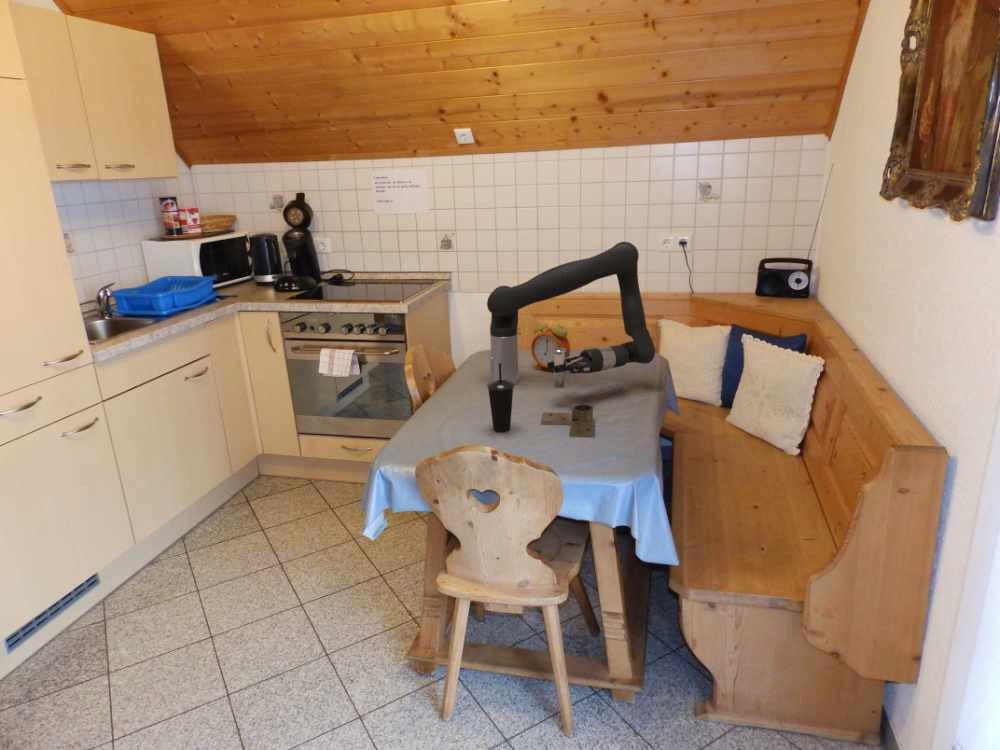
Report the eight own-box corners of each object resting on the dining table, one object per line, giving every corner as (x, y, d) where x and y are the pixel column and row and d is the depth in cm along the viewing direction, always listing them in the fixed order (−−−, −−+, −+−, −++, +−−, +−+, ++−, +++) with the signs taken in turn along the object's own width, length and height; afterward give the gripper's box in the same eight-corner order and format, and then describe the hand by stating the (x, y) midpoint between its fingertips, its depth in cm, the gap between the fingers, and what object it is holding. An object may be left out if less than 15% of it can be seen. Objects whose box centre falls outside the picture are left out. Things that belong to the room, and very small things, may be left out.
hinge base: (539, 435, 190) (538, 422, 188) (542, 415, 204) (542, 403, 203) (594, 437, 188) (594, 423, 186) (594, 416, 202) (594, 403, 201)
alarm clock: (530, 369, 247) (529, 316, 241) (539, 365, 252) (538, 312, 246) (562, 375, 240) (562, 320, 234) (570, 370, 245) (570, 316, 239)
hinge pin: (552, 388, 208) (552, 351, 204) (552, 384, 212) (553, 347, 208) (564, 388, 208) (565, 351, 204) (565, 384, 211) (565, 347, 207)
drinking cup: (506, 436, 190) (504, 369, 184) (483, 431, 194) (481, 365, 187) (520, 427, 196) (518, 361, 190) (497, 422, 200) (495, 358, 194)
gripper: (585, 342, 218) (539, 350, 211) (611, 353, 207) (563, 362, 199) (585, 364, 221) (539, 373, 214) (610, 377, 209) (562, 386, 202)
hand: (551, 367), depth 206 cm, fingers closed on hinge pin, 3 cm apart
